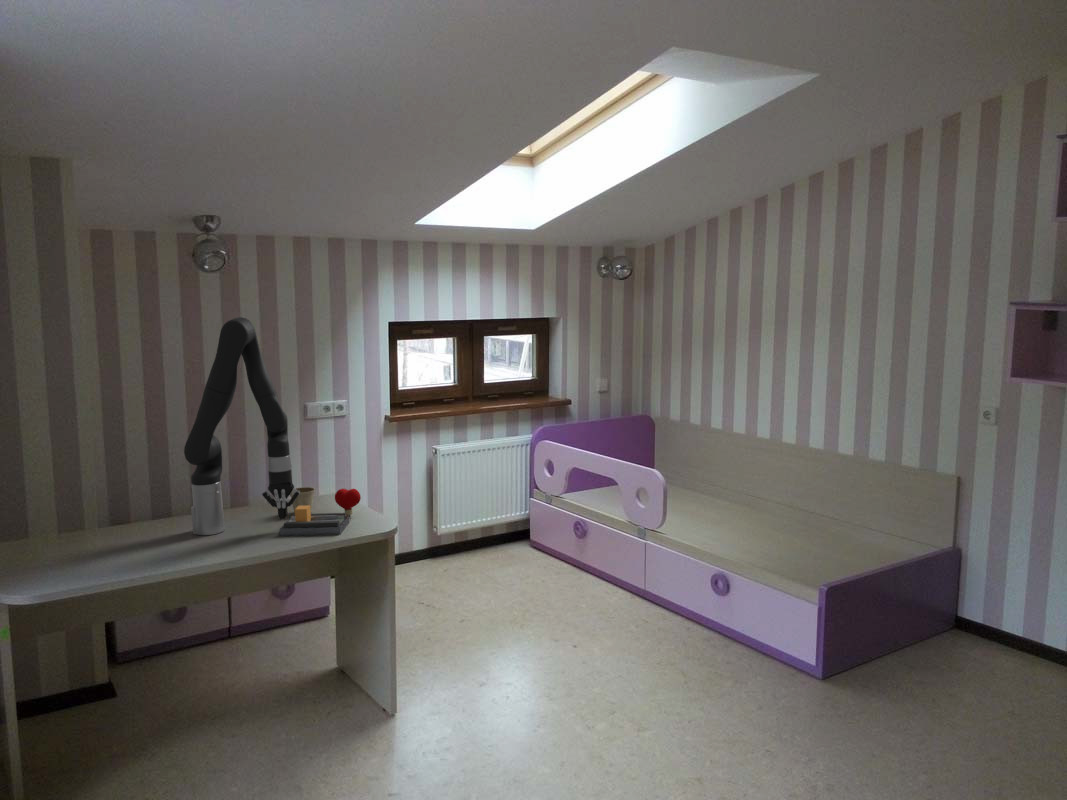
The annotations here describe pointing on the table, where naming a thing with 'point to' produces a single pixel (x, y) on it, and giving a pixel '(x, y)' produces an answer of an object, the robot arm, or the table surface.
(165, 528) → the table surface
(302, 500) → the flower pot
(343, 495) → the red heart figurine
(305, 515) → the tan cardboard cube
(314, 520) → the panel
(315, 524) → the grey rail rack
